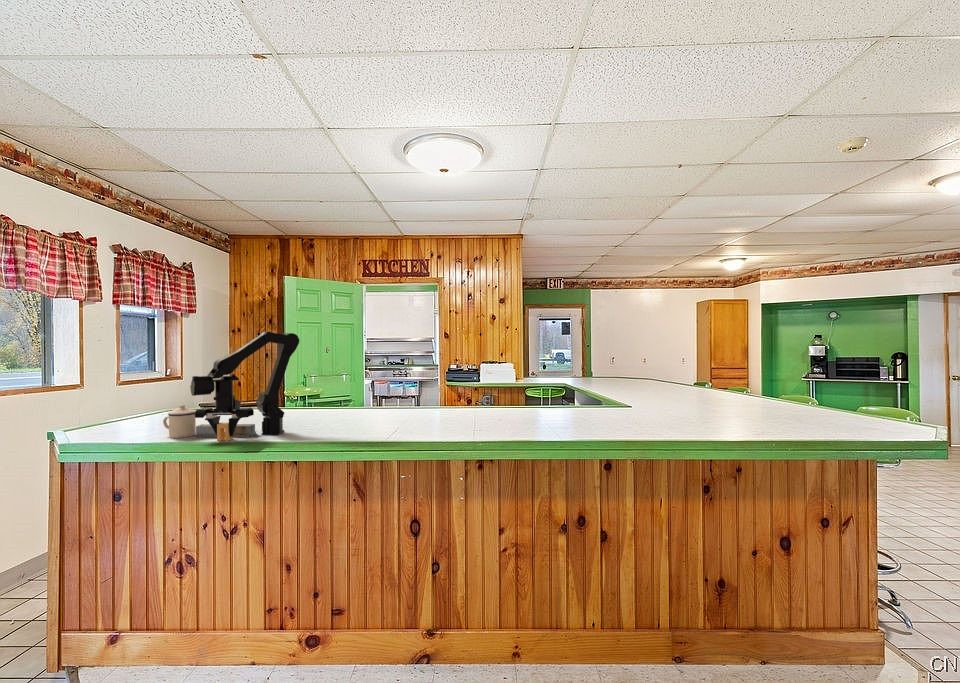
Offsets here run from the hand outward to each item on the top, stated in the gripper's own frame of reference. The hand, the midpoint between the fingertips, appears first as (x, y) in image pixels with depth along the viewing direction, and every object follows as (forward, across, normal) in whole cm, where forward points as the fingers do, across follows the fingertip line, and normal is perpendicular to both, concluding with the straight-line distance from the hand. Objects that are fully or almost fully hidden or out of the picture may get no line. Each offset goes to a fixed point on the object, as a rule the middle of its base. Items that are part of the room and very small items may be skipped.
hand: (224, 436), depth 181 cm
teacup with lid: (+1, +21, -8) cm, 23 cm away
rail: (+1, +3, -7) cm, 8 cm away
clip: (+1, 0, 0) cm, 1 cm away
